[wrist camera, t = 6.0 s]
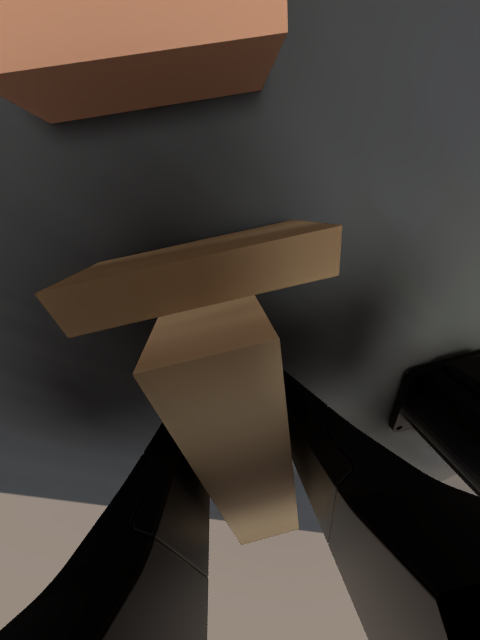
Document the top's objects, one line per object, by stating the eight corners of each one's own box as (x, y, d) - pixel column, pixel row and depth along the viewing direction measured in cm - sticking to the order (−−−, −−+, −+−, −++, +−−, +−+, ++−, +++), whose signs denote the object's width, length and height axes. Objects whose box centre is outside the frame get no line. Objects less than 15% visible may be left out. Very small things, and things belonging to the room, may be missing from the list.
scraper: (301, 411, 13) (350, 514, 8) (194, 438, 12) (188, 559, 8) (293, 219, 7) (426, 234, 3) (99, 262, 7) (-82, 350, 3)
